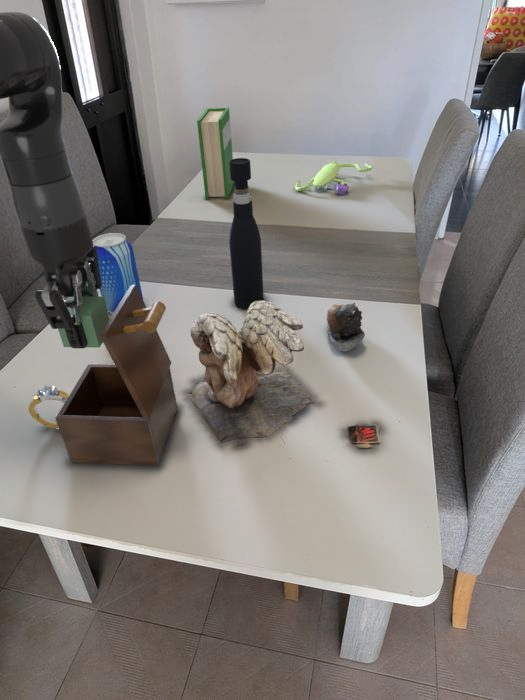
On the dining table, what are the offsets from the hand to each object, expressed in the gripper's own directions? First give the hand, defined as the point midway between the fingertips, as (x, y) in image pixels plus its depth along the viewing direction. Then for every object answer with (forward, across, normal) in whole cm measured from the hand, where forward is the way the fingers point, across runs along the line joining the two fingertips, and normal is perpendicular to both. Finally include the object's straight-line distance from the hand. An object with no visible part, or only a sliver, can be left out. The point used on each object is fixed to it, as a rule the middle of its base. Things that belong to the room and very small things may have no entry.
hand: (87, 334), depth 70 cm
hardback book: (+18, -116, -1) cm, 117 cm away
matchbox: (+19, 0, +38) cm, 43 cm away
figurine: (+19, -120, +37) cm, 127 cm away
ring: (+18, 0, -9) cm, 21 cm away
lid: (+2, 0, +7) cm, 7 cm away
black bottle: (+19, -40, +17) cm, 48 cm away
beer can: (+18, -38, -10) cm, 43 cm away
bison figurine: (+19, -26, +37) cm, 49 cm away
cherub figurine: (+19, -8, +21) cm, 29 cm away
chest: (+18, 0, +2) cm, 18 cm away
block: (0, 0, 0) cm, 0 cm away
